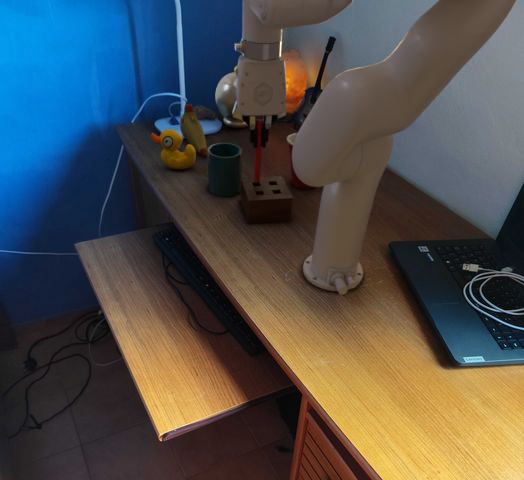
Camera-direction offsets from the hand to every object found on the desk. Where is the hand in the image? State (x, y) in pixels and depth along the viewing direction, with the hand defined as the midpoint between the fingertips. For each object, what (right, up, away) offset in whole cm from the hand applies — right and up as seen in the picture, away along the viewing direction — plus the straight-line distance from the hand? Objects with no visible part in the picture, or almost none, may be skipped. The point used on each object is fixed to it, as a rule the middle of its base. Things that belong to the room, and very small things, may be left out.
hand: (258, 144), depth 103 cm
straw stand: (+2, -12, +11) cm, 16 cm away
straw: (0, -6, +6) cm, 9 cm away
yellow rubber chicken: (-19, +14, +33) cm, 41 cm away
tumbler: (-9, -4, +17) cm, 19 cm away
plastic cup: (+12, -1, +21) cm, 24 cm away
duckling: (-23, +4, +24) cm, 33 cm away
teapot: (-8, +28, +47) cm, 55 cm away
